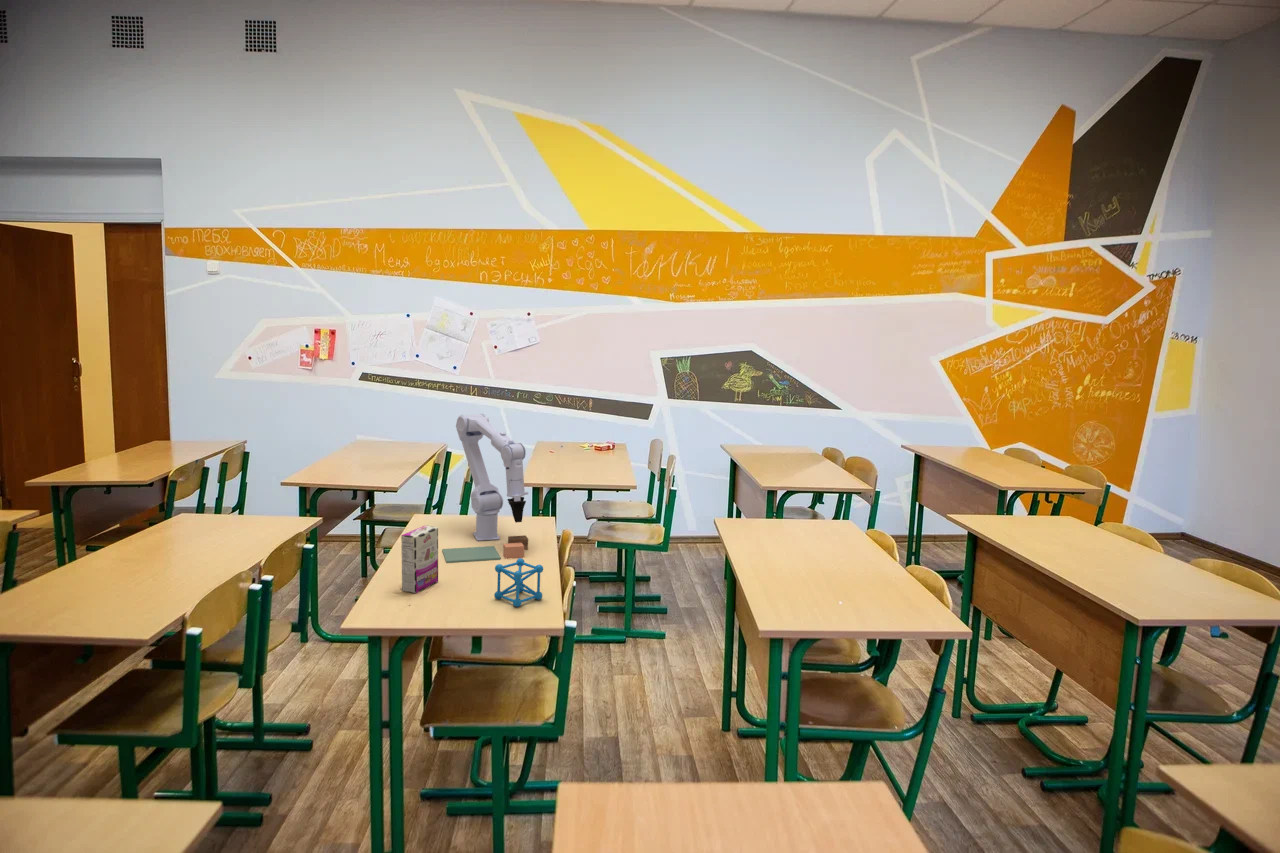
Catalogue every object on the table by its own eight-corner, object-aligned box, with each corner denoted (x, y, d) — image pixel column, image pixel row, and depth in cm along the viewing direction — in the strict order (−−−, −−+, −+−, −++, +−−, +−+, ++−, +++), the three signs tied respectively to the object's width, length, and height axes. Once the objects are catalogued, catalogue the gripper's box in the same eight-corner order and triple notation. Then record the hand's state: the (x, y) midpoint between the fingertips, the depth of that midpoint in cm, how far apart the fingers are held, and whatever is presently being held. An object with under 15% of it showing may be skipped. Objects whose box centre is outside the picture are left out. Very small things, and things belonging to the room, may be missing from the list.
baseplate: (442, 550, 250) (442, 549, 250) (494, 547, 256) (494, 545, 256) (446, 563, 238) (446, 561, 238) (501, 559, 244) (501, 557, 244)
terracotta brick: (503, 555, 249) (503, 543, 248) (521, 554, 251) (521, 542, 250) (505, 559, 245) (505, 547, 244) (523, 558, 247) (524, 546, 247)
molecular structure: (519, 590, 217) (520, 556, 216) (544, 599, 211) (545, 564, 210) (492, 599, 210) (493, 564, 208) (516, 609, 204) (517, 573, 202)
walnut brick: (507, 547, 257) (508, 536, 257) (525, 546, 259) (525, 535, 259) (510, 551, 253) (510, 539, 253) (527, 550, 256) (528, 538, 255)
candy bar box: (424, 579, 223) (424, 524, 220) (438, 581, 221) (439, 527, 219) (400, 591, 212) (400, 534, 210) (415, 594, 211) (416, 536, 208)
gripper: (528, 480, 247) (531, 522, 248) (525, 477, 261) (528, 516, 262) (506, 482, 246) (509, 524, 246) (504, 478, 260) (507, 518, 260)
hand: (517, 520), depth 254 cm, fingers open, 7 cm apart
